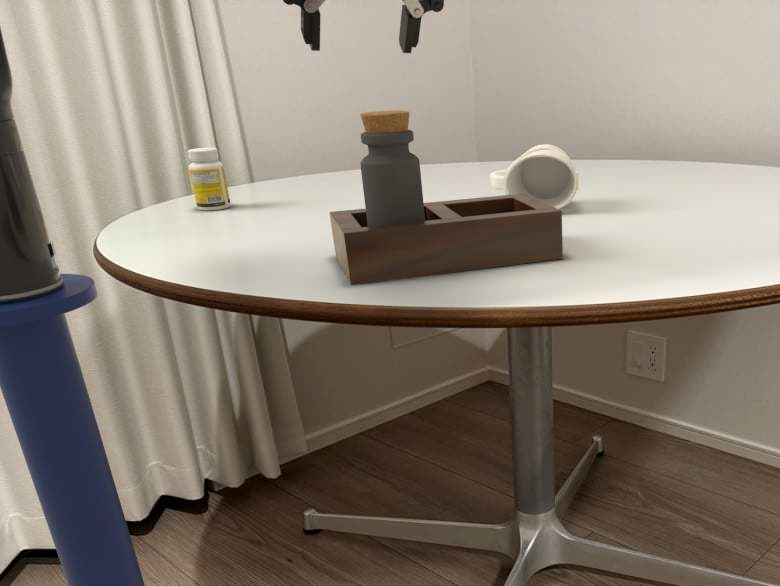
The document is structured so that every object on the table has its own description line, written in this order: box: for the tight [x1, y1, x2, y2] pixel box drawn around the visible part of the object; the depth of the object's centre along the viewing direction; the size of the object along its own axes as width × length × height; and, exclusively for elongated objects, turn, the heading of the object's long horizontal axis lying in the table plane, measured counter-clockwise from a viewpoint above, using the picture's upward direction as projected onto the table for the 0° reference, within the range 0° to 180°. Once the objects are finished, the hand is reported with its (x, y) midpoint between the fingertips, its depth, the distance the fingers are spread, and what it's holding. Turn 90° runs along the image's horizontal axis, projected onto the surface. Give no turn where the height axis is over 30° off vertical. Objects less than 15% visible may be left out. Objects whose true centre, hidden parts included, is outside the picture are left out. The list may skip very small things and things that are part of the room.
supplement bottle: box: [187, 147, 232, 211], centre depth 116 cm, size 5×5×8 cm
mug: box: [489, 143, 580, 210], centre depth 107 cm, size 12×9×8 cm
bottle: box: [359, 110, 425, 227], centre depth 80 cm, size 6×6×15 cm
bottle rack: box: [329, 194, 564, 286], centre depth 83 cm, size 12×22×5 cm, turn 110°
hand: (360, 47), depth 74 cm, fingers open, 8 cm apart
